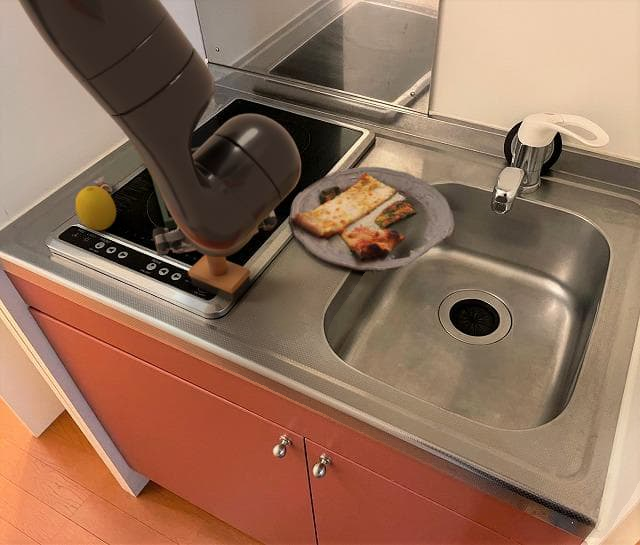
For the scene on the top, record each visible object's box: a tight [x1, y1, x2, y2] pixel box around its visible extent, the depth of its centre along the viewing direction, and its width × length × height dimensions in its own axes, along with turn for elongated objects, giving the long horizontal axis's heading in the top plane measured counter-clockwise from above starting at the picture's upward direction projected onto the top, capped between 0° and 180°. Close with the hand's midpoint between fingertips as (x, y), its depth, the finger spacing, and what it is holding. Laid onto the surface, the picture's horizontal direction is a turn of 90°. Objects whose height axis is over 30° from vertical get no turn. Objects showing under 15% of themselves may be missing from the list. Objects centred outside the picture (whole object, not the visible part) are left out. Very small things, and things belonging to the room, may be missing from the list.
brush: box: [187, 254, 251, 303], centre depth 75 cm, size 7×4×12 cm, turn 62°
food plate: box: [287, 166, 455, 274], centre depth 88 cm, size 25×23×4 cm
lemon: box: [75, 185, 117, 231], centre depth 86 cm, size 6×6×8 cm
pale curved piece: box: [93, 176, 113, 193], centre depth 94 cm, size 3×2×4 cm
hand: (212, 237), depth 74 cm, fingers open, 8 cm apart
